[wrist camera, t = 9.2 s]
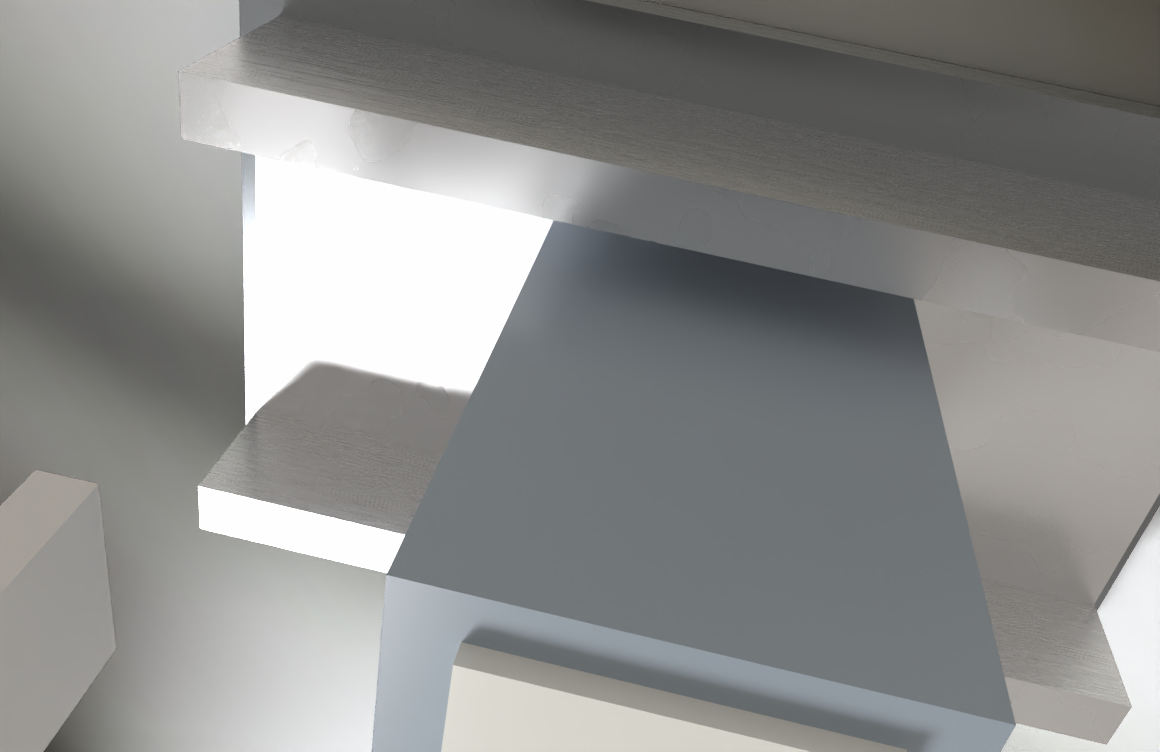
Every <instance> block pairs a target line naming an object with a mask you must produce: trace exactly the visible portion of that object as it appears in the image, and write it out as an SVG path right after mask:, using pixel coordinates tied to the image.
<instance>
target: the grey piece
mask: <svg viewBox="0 0 1160 752" xmlns="http://www.w3.org/2000/svg"><path fill="white" fill-rule="evenodd" d="M239 3H240V38H238V39H236V40H234V41H232V42H230V43H229V44H227V45H225V46H223V47H221V48H219V49H218V50H216V51H214V52H212V53H210V54H209V55H207V56H205V57H203V58H201V59H199V60H198V61H196V62H194V63H192V64H190V65H188V66H187V67H185V68H183V69H181V70H179V71H178V76H179V97H180V118H181V139H183V140H188V141H192V142H197V143H202V144H206V145H211V146H215V147H220V148H225V149H229V150H234V151H238V152H242V199H243V265H244V330H245V395H246V426H245V427H244V428H243V429H242V431H241V432H240V433H239V434H238V436H237V437H236V438H235V440H234V441H233V442H232V443H231V445H230V446H229V447H228V449H227V450H226V451H225V452H224V454H223V455H222V456H221V458H220V459H219V460H218V461H217V463H216V464H215V465H214V466H213V468H212V469H211V470H210V472H209V473H208V474H207V475H206V477H205V478H204V479H203V481H202V482H201V483H200V484H199V486H198V496H199V517H200V529H204V530H209V531H213V532H217V533H221V534H225V535H229V536H234V537H238V538H242V539H246V540H250V541H255V542H259V543H263V544H267V545H271V546H276V547H280V548H284V549H288V550H292V551H297V552H301V553H305V554H309V555H313V556H318V557H322V558H326V559H330V560H334V561H339V562H343V563H347V564H351V565H355V566H360V567H364V568H368V569H372V570H376V571H381V572H385V573H387V572H388V570H389V568H390V566H391V564H392V561H393V559H394V557H395V555H396V553H397V551H398V549H399V547H400V544H401V542H402V540H403V538H404V536H405V534H406V532H407V530H408V528H409V525H410V523H411V521H412V519H413V517H414V515H415V513H416V511H417V508H418V506H419V504H420V502H421V500H422V498H423V496H424V494H425V492H426V489H427V487H428V485H429V483H430V481H431V479H432V477H433V475H434V473H435V470H436V468H437V466H438V464H439V462H440V460H441V458H442V456H443V453H444V451H445V449H446V447H447V445H448V443H449V441H450V439H451V437H452V434H453V432H454V430H455V428H456V426H457V424H458V422H459V420H460V417H461V415H462V413H463V411H464V409H465V407H466V405H467V403H468V401H469V398H470V396H471V394H472V392H473V390H474V388H475V386H476V384H477V381H478V379H479V377H480V375H481V373H482V371H483V369H484V367H485V365H486V362H487V360H488V358H489V356H490V354H491V352H492V350H493V348H494V346H495V343H496V341H497V339H498V337H499V335H500V333H501V331H502V329H503V326H504V324H505V322H506V320H507V318H508V316H509V314H510V312H511V310H512V307H513V305H514V303H515V301H516V299H517V297H518V295H519V293H520V290H521V288H522V286H523V284H524V282H525V280H526V278H527V276H528V274H529V271H530V269H531V267H532V265H533V263H534V261H535V259H536V257H537V255H538V252H539V250H540V248H541V246H542V244H543V242H544V240H545V238H546V235H547V233H548V231H549V229H550V227H551V225H552V223H553V221H554V220H555V221H560V222H564V223H569V224H573V225H578V226H582V227H587V228H592V229H596V230H601V231H605V232H610V233H615V234H619V235H624V236H628V237H633V238H637V239H642V240H647V241H651V242H656V243H660V244H665V245H670V246H674V247H679V248H683V249H688V250H693V251H697V252H702V253H706V254H711V255H715V256H720V257H725V258H729V259H734V260H738V261H743V262H748V263H752V264H757V265H761V266H766V267H771V268H775V269H780V270H784V271H789V272H793V273H798V274H803V275H807V276H812V277H816V278H821V279H826V280H830V281H835V282H839V283H844V284H849V285H853V286H858V287H862V288H867V289H871V290H876V291H881V292H885V293H890V294H894V295H899V296H904V297H908V298H913V299H914V302H915V307H916V311H917V315H918V319H919V323H920V327H921V332H922V336H923V340H924V344H925V348H926V352H927V357H928V361H929V365H930V369H931V373H932V377H933V382H934V386H935V390H936V394H937V398H938V402H939V407H940V411H941V415H942V419H943V423H944V427H945V432H946V436H947V440H948V444H949V448H950V452H951V457H952V461H953V465H954V469H955V473H956V477H957V482H958V486H959V490H960V494H961V498H962V502H963V507H964V511H965V515H966V519H967V523H968V527H969V532H970V536H971V540H972V544H973V548H974V552H975V557H976V561H977V565H978V569H979V573H980V577H981V582H982V586H983V590H984V594H985V598H986V602H987V607H988V611H989V615H990V619H991V623H992V627H993V632H994V636H995V640H996V644H997V648H998V652H999V657H1000V661H1001V665H1002V669H1003V673H1004V677H1005V682H1006V686H1007V690H1008V694H1009V698H1010V702H1011V707H1012V711H1013V715H1014V719H1015V723H1018V724H1022V725H1027V726H1031V727H1035V728H1039V729H1043V730H1048V731H1052V732H1056V733H1060V734H1064V735H1069V736H1073V737H1077V738H1081V739H1085V740H1090V741H1094V742H1098V743H1102V744H1106V745H1107V743H1108V742H1109V740H1110V739H1111V737H1112V736H1113V734H1114V733H1115V731H1116V730H1117V728H1118V727H1119V725H1120V724H1121V722H1122V721H1123V719H1124V717H1125V716H1126V714H1127V713H1128V711H1129V710H1130V708H1131V707H1132V706H1131V703H1130V701H1129V698H1128V695H1127V693H1126V690H1125V687H1124V684H1123V682H1122V679H1121V676H1120V673H1119V671H1118V668H1117V665H1116V662H1115V660H1114V657H1113V654H1112V651H1111V649H1110V646H1109V643H1108V640H1107V638H1106V635H1105V632H1104V629H1103V627H1102V624H1101V621H1100V618H1099V616H1098V613H1097V610H1098V608H1099V606H1100V605H1101V603H1102V601H1103V600H1104V598H1105V596H1106V595H1107V593H1108V591H1109V590H1110V588H1111V586H1112V584H1113V583H1114V581H1115V579H1116V578H1117V576H1118V574H1119V573H1120V571H1121V569H1122V568H1123V566H1124V564H1125V563H1126V561H1127V559H1128V558H1129V556H1130V554H1131V553H1132V551H1133V549H1134V548H1135V546H1136V544H1137V542H1138V541H1139V539H1140V537H1141V536H1142V534H1143V532H1144V531H1145V529H1146V527H1147V526H1148V524H1149V522H1150V521H1151V519H1152V517H1153V516H1154V514H1155V512H1156V511H1157V509H1158V507H1159V506H1160V107H1159V106H1154V105H1149V104H1144V103H1139V102H1135V101H1130V100H1125V99H1120V98H1115V97H1110V96H1105V95H1101V94H1096V93H1091V92H1086V91H1081V90H1076V89H1071V88H1066V87H1062V86H1057V85H1052V84H1047V83H1042V82H1037V81H1032V80H1028V79H1023V78H1018V77H1013V76H1008V75H1003V74H998V73H994V72H989V71H984V70H979V69H974V68H969V67H964V66H959V65H955V64H950V63H945V62H940V61H935V60H930V59H925V58H921V57H916V56H911V55H906V54H901V53H896V52H891V51H887V50H882V49H877V48H872V47H867V46H862V45H857V44H852V43H848V42H843V41H838V40H833V39H828V38H823V37H818V36H814V35H809V34H804V33H799V32H794V31H789V30H784V29H780V28H775V27H770V26H765V25H760V24H755V23H750V22H745V21H741V20H736V19H731V18H726V17H721V16H716V15H711V14H707V13H702V12H697V11H692V10H687V9H682V8H677V7H673V6H668V5H663V4H658V3H653V2H648V1H643V0H239Z"/></svg>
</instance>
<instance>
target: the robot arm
mask: <svg viewBox="0 0 1160 752" xmlns="http://www.w3.org/2000/svg"><path fill="white" fill-rule="evenodd" d="M115 650H116V641H115V632H114V622H113V613H112V603H111V594H110V585H109V575H108V566H107V556H106V547H105V537H104V528H103V518H102V509H101V500H100V490H99V484H98V483H93V482H89V481H84V480H80V479H75V478H71V477H66V476H62V475H57V474H53V473H48V472H44V471H39V470H35V471H34V472H33V473H32V474H31V475H30V476H29V477H28V478H27V479H26V480H25V481H24V482H23V483H22V484H21V485H20V486H19V487H18V488H17V489H16V490H15V491H14V492H13V493H12V494H11V495H10V496H9V497H8V498H7V499H6V500H5V501H4V502H3V503H2V504H1V505H0V752H44V750H45V749H46V747H47V746H48V745H49V743H50V742H51V740H52V739H53V738H54V736H55V735H56V733H57V732H58V731H59V729H60V728H61V726H62V725H63V724H64V722H65V721H66V719H67V718H68V716H69V715H70V714H71V712H72V711H73V709H74V708H75V707H76V705H77V704H78V702H79V701H80V700H81V698H82V697H83V695H84V694H85V693H86V691H87V690H88V688H89V687H90V685H91V684H92V683H93V681H94V680H95V678H96V677H97V676H98V674H99V673H100V671H101V670H102V669H103V667H104V666H105V664H106V663H107V662H108V660H109V659H110V657H111V656H112V654H113V653H114V652H115Z"/></svg>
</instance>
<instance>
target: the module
mask: <svg viewBox="0 0 1160 752" xmlns="http://www.w3.org/2000/svg"><path fill="white" fill-rule="evenodd" d="M1015 726H1016V723H1015V719H1014V715H1013V711H1012V707H1011V702H1010V698H1009V694H1008V690H1007V686H1006V682H1005V677H1004V673H1003V669H1002V665H1001V661H1000V657H999V652H998V648H997V644H996V640H995V636H994V632H993V627H992V623H991V619H990V615H989V611H988V607H987V602H986V598H985V594H984V590H983V586H982V582H981V577H980V573H979V569H978V565H977V561H976V557H975V552H974V548H973V544H972V540H971V536H970V532H969V527H968V523H967V519H966V515H965V511H964V507H963V502H962V498H961V494H960V490H959V486H958V482H957V477H956V473H955V469H954V465H953V461H952V457H951V452H950V448H949V444H948V440H947V436H946V432H945V427H944V423H943V419H942V415H941V411H940V407H939V402H938V398H937V394H936V390H935V386H934V382H933V377H932V373H931V369H930V365H929V361H928V357H927V352H926V348H925V344H924V340H923V336H922V332H921V327H920V323H919V319H918V315H917V311H916V307H915V302H914V299H913V298H908V297H904V296H899V295H894V294H890V293H885V292H881V291H876V290H871V289H867V288H862V287H858V286H853V285H849V284H844V283H839V282H835V281H830V280H826V279H821V278H816V277H812V276H807V275H803V274H798V273H793V272H789V271H784V270H780V269H775V268H771V267H766V266H761V265H757V264H752V263H748V262H743V261H738V260H734V259H729V258H725V257H720V256H715V255H711V254H706V253H702V252H697V251H693V250H688V249H683V248H679V247H674V246H670V245H665V244H660V243H656V242H651V241H647V240H642V239H637V238H633V237H628V236H624V235H619V234H615V233H610V232H605V231H601V230H596V229H592V228H587V227H582V226H578V225H573V224H569V223H564V222H560V221H555V220H554V221H553V223H552V225H551V227H550V229H549V231H548V233H547V235H546V238H545V240H544V242H543V244H542V246H541V248H540V250H539V252H538V255H537V257H536V259H535V261H534V263H533V265H532V267H531V269H530V271H529V274H528V276H527V278H526V280H525V282H524V284H523V286H522V288H521V290H520V293H519V295H518V297H517V299H516V301H515V303H514V305H513V307H512V310H511V312H510V314H509V316H508V318H507V320H506V322H505V324H504V326H503V329H502V331H501V333H500V335H499V337H498V339H497V341H496V343H495V346H494V348H493V350H492V352H491V354H490V356H489V358H488V360H487V362H486V365H485V367H484V369H483V371H482V373H481V375H480V377H479V379H478V381H477V384H476V386H475V388H474V390H473V392H472V394H471V396H470V398H469V401H468V403H467V405H466V407H465V409H464V411H463V413H462V415H461V417H460V420H459V422H458V424H457V426H456V428H455V430H454V432H453V434H452V437H451V439H450V441H449V443H448V445H447V447H446V449H445V451H444V453H443V456H442V458H441V460H440V462H439V464H438V466H437V468H436V470H435V473H434V475H433V477H432V479H431V481H430V483H429V485H428V487H427V489H426V492H425V494H424V496H423V498H422V500H421V502H420V504H419V506H418V508H417V511H416V513H415V515H414V517H413V519H412V521H411V523H410V525H409V528H408V530H407V532H406V534H405V536H404V538H403V540H402V542H401V544H400V547H399V549H398V551H397V553H396V555H395V557H394V559H393V561H392V564H391V566H390V568H389V570H388V572H387V574H386V583H385V595H384V607H383V619H382V632H381V644H380V656H379V668H378V681H377V693H376V705H375V718H374V730H373V742H372V752H1001V750H1002V748H1003V746H1004V745H1005V743H1006V741H1007V740H1008V738H1009V736H1010V734H1011V733H1012V731H1013V729H1014V728H1015Z"/></svg>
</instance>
